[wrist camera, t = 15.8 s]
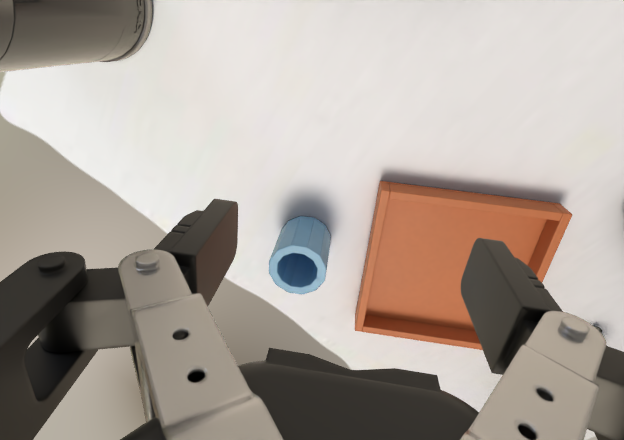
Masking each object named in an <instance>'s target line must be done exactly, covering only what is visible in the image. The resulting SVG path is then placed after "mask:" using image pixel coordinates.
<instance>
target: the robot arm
mask: <svg viewBox="0 0 624 440" xmlns="http://www.w3.org/2000/svg"><path fill="white" fill-rule="evenodd" d="M151 23H152V1H151V0H0V72H5V71H15V70H24V69H33V68H42V67H51V66H60V65H70V64H79V63H90V62H98V61H99V62H111V61H118V60H122V59H126V58H128V57H130V56H131V55H133V54H134V53H136V52H137V51H138V50H139V49H140V48H141V47H142V45H143V44H144V42H145V41H146V39H147V37H148V34H149V31H150V28H151ZM237 233H238V204H237V202H234V201H227V200H220V199H214V200H213V201H212V202H211V203H210V204H209V205H208V207H207V208H206V209H205V210H204V211H198V210H197V211H195V212H192V213H190V214H188V215H186V216H184V217H183V219H182V220H181V221H180V222H179V223H178V225H176V226H175V227H174V228H173V229H172V231H171V232H169V233H168V234H167V236H166V237H165V238H164V239H163V240H162V241H161V242H160V243H159V244H158V245H157V246H156V247H155V248H154V249H153V250H143V251H138V252H135V253H132V254H130V255H128V256H126V257H125V258H123V259H122V260H121V262H120V263H119V266H118V268H104V269H86V265H85V259H84V258H83V257H82V256H81V255H79V254H76V253H73V252H54V253H48V254H44V255H41V256H38V257H36V258H33V259H31V260H29V261H28V262H26V263H25V264H24V265H22V266H21V267H20V268H18V269H17V270H16V271H14V272H13V273H12V274H10V275H9V276H8V277H6V278H5V279H4V280H2V281H1V282H0V440H33V439H34V437H35V436H36V434H37V433H38V432H39V430H40V429H41V428H42V426H43V425H44V424H45V422H46V421H47V419H48V418H49V417H50V415H51V414H52V413H53V411H54V410H55V409H56V407H57V406H58V404H59V403H60V402H61V400H62V399H63V398H64V396H65V395H66V393H67V392H68V391H69V389H70V388H71V386H72V385H73V384H74V382H75V381H76V380H77V378H78V377H79V376H80V374H81V373H82V371H83V370H84V369H85V367H86V366H87V365H88V363H89V362H90V360H91V359H92V358H93V356H94V355H95V354H96V352H97V351H98V349H107V348H118V347H129V346H130V350H131V354H132V359H133V363H134V368H135V372H136V376H137V381H138V385H139V389H140V394H141V398H142V403H143V408H144V414H145V419H146V423H145V424H143V425H142V426H140V427H139V428H137V429H136V430H134V431H133V432H131V433H130V434H128V435H127V436H125V437H123V438H122V439H120V440H584V437H585V433H586V430H587V429H589V430H591V431H593V432H594V433H595V435H596V437H597V439H598V440H624V352H622V351H619V350H616V349H613V348H611V347H608V346H606V340H605V338H604V336H603V335H602V334H601V333H600V332H599V330H598V329H596V328H595V327H594V326H593V325H591V324H590V323H588V322H587V321H585V320H583V319H581V318H579V317H577V316H575V315H572V314H569V313H565V312H563V311H562V310H561V309H560V307H559V306H558V304H557V303H556V302H555V300H554V299H553V298H552V296H551V295H550V294H549V292H548V291H547V289H544V285H543V284H542V283H541V281H540V280H538V277H537V276H536V274H535V273H534V272H533V270H532V269H531V268H530V267H529V266H527V265H526V264H525V263H524V262H522V261H521V260H520V259H518V258H515V257H514V256H513V254H512V253H511V252H510V250H509V249H508V247H507V246H506V244H505V243H504V242H503V241H498V240H491V239H484V238H477V239H476V241H475V242H474V244H473V247H472V250H471V253H470V256H469V259H468V261H467V264H466V267H465V270H464V273H463V276H462V279H461V295H462V298H463V300H464V303H465V306H466V308H467V311H468V313H469V316H470V318H471V321H472V323H473V326H474V329H475V331H476V334H477V336H478V339H479V341H480V344H481V346H482V349H483V351H484V354H485V357H486V359H487V362H488V364H489V367H490V369H491V372H492V373H496V374H502V375H503V376H502V377H501V379H500V381H499V382H498V384H497V385H496V387H495V389H494V390H493V392H492V393H491V395H490V397H489V398H488V400H487V401H486V403H485V404H484V406H483V408H482V409H481V411H480V412H478V411H476V410H475V409H474V408H472V407H471V406H470V405H468V404H467V403H465V402H464V401H462V400H460V399H459V398H457V397H455V396H453V395H451V394H449V393H447V392H445V391H442V390H440V386H439V382H438V377H437V375H432V374H426V373H420V372H414V371H408V370H401V369H395V368H394V369H374V370H350V369H347V368H344V367H341V366H338V365H336V364H333V363H331V362H328V361H326V360H323V359H320V358H318V357H315V356H312V355H310V354H304V353H298V352H292V351H285V350H279V349H273V348H269V351H268V354H267V358H266V361H256V362H250V363H246V364H242V365H239V366H238V365H237V363H236V361H235V359H234V358H233V356H232V353H231V351H230V350H229V347H228V346H227V344H226V342H225V340H224V338H223V336H222V334H221V332H220V330H219V328H218V326H217V324H216V322H215V320H214V318H213V316H212V314H211V312H210V310H209V308H208V305H209V303H210V302H211V300H212V298H213V296H214V294H215V292H216V291H217V289H218V287H219V285H220V283H221V281H222V280H223V278H224V276H225V274H226V272H227V271H228V269H229V267H230V265H231V263H232V262H233V260H234V257H235V254H236V249H237ZM37 335H38V336H39V338H38V339H37V340H36V341H35V342H34V343H33V344H32V345H31V346H30V347H29V348H28V346H29V345H30V343H31V342H32V340H33V339H34V338H35V337H36V336H37ZM27 348H28V349H27Z"/></svg>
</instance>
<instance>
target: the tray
mask: <svg viewBox="0 0 624 440" xmlns="http://www.w3.org/2000/svg"><path fill="white" fill-rule="evenodd" d="M571 217H572V214H571V213H570V212H569V211H568V210H567V209H565V208H564V207H563V206H562V205H561V204H560V203H552V202H544V201H536V200H528V199H520V198H512V197H504V196H496V195H488V194H480V193H473V192H465V191H457V190H449V189H441V188H433V187H425V186H417V185H409V184H401V183H393V182H385V181H380V184H379V189H378V194H377V200H376V205H375V211H374V216H373V222H372V227H371V232H370V238H369V243H368V249H367V254H366V260H365V265H364V270H363V276H362V281H361V287H360V292H359V298H358V303H357V308H356V314H355V331H361V332H367V333H374V334H380V335H387V336H394V337H400V338H407V339H414V340H420V341H427V342H434V343H440V344H447V345H453V346H460V347H467V348H473V349H480V350H483V349H482V346H481V344H480V341H479V339H478V336H477V334H476V331H475V329H474V326H473V323H472V321H471V318H470V316H469V313H468V311H467V308H466V306H465V303H464V300H463V298H462V295H461V279H462V276H463V273H464V270H465V267H466V264H467V261H468V259H469V256H470V253H471V250H472V247H473V244H474V242H475V241H476V239H477V238H484V239H491V240H498V241H503V242H504V243H505V244H506V246H507V247H508V249H509V250H510V252H511V253H512V254H513V256H514V257H515V258H518V259H520V260H521V261H522V262H524V263H525V264H526V265H527V266H529V267H530V268H531V269H532V270H533V272H534V273H535V274H536V276H537V277H538V280H540V281H541V283H542V282H543V279H544V277H545V275H546V273H547V270H548V268H549V266H550V264H551V261H552V259H553V257H554V255H555V252H556V250H557V248H558V246H559V244H560V241H561V239H562V237H563V235H564V232H565V230H566V228H567V226H568V223H569V221H570V219H571Z"/></svg>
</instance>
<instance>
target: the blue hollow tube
mask: <svg viewBox="0 0 624 440" xmlns="http://www.w3.org/2000/svg"><path fill="white" fill-rule="evenodd" d="M330 240H331V235H330V233H329V231H328V229H327V227H326V226H325V224H323V223H322V222H320V221H319V220H317V219H316V218H314V217H306V216H299V217H297V218H294V219H291V220H289V221H288V222H287V223H286V225H285V226H284V227H283V228H282V230H281V233H280V235H279V238H278V240H277V243H276V245H275V248H274V250H273V253H272V255H271V258H270V261H269V274H270V276H271V277H272V279H273V281H274V282H275V284H276V285H277V286H279V287H280V288H282V289H284V290H285V291H287V292H289V293H296V294H305V293H308V292H312V291H315V290H317V289H318V287H319V286H320V285H321V284H322V283H323V282H324V280H325V276H326V269H327V262H328V255H329V248H330Z"/></svg>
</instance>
